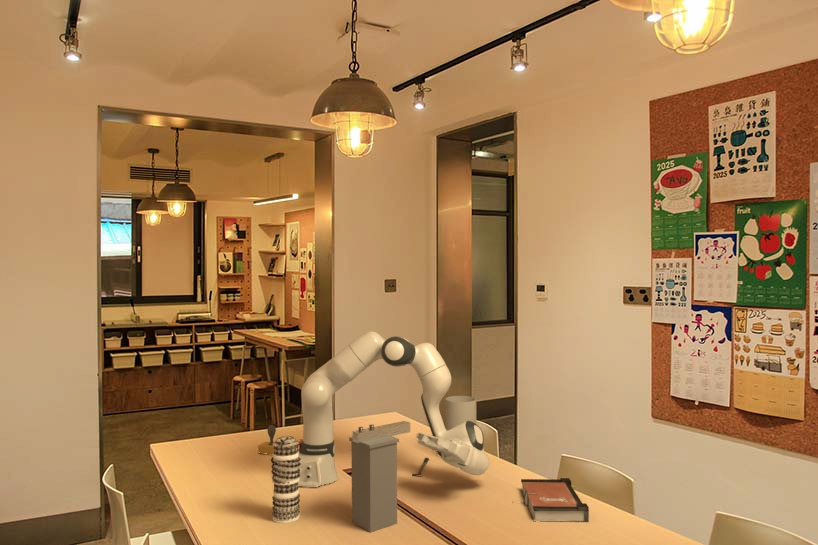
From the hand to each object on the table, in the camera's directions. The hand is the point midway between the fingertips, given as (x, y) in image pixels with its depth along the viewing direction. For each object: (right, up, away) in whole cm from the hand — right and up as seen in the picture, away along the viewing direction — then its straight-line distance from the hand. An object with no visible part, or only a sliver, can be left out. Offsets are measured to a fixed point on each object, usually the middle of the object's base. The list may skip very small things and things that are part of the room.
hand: (427, 438), depth 200 cm
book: (+41, -23, 0) cm, 47 cm away
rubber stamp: (-65, -23, +59) cm, 90 cm away
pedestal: (-17, -22, -13) cm, 31 cm away
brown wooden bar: (-14, +4, -11) cm, 19 cm away
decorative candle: (-45, -23, -9) cm, 51 cm away
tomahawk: (0, -23, +38) cm, 44 cm away
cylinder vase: (+15, -22, +48) cm, 55 cm away
